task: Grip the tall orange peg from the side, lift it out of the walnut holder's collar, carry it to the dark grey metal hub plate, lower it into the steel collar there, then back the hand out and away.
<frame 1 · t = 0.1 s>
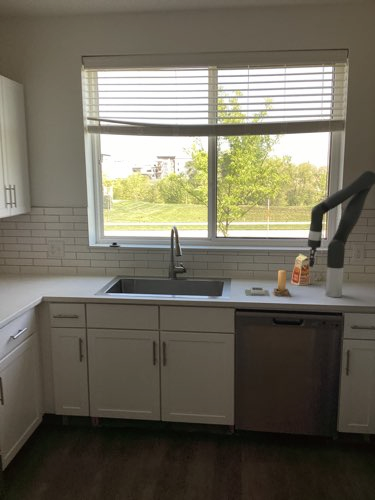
hand: (311, 265, 249), 17 cm above the countertop, tool pointing down, fingers open, 8 cm apart
peg: (281, 294, 246), point 1 cm above the countertop, touching holder
hub: (257, 294, 249), on the countertop
holder: (281, 295, 246), on the countertop
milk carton: (300, 283, 277), on the countertop
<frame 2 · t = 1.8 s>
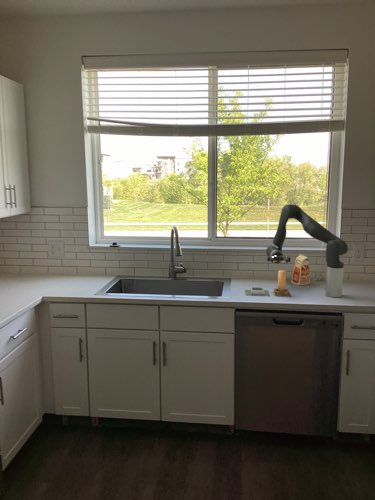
hand: (279, 261, 254), 19 cm above the countertop, tool horizontal, fingers open, 8 cm apart
nothing on the countertop moved.
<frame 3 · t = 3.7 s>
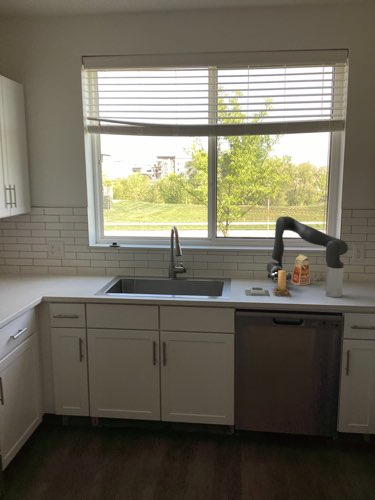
hand: (280, 278, 251), 9 cm above the countertop, tool horizontal, fingers open, 8 cm apart
nothing on the countertop moved.
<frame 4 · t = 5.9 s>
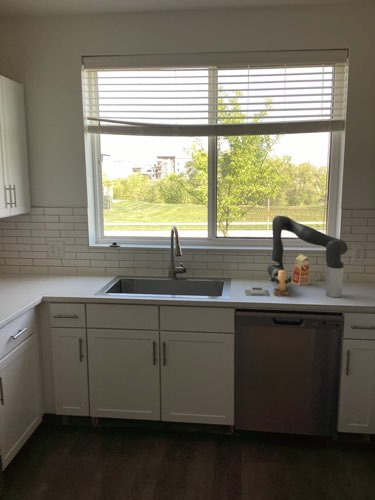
hand: (282, 282, 242), 9 cm above the countertop, tool horizontal, fingers closed on peg, 4 cm apart
peg: (281, 294, 246), point 1 cm above the countertop, touching gripper, holder
everything else where it was.
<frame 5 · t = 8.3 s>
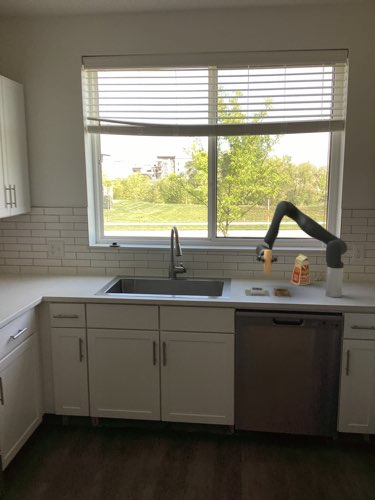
hand: (268, 261, 242), 21 cm above the countertop, tool horizontal, fingers closed on peg, 4 cm apart
peg: (267, 273, 246), point 13 cm above the countertop, touching gripper
everything else where it was.
when the fingers open (10 cm above the countertop, at t = 11.1 s): peg drops 1 cm, resting on hub.
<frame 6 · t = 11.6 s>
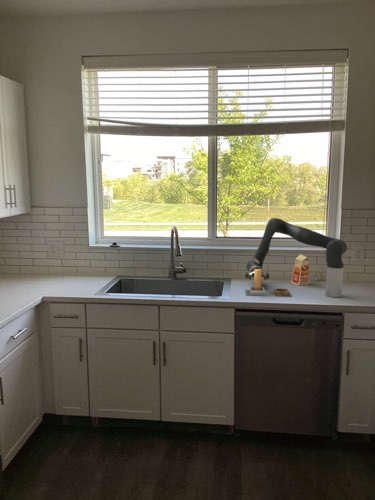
hand: (257, 278, 245), 10 cm above the countertop, tool horizontal, fingers open, 8 cm apart
peg: (257, 292, 249), point 1 cm above the countertop, touching hub
everything else where it was.
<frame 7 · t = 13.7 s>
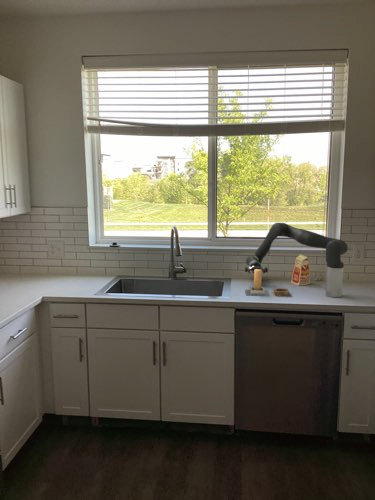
hand: (256, 271, 258), 11 cm above the countertop, tool horizontal, fingers open, 8 cm apart
nothing on the countertop moved.
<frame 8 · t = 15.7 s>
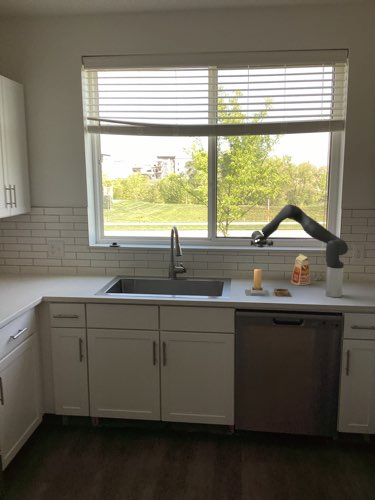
hand: (262, 244, 260), 28 cm above the countertop, tool horizontal, fingers open, 8 cm apart
nothing on the countertop moved.
at the end: peg 0.1 cm off-centre on the hub, point 1.0 cm above the hub's base; peg tilted 1°; the gripper is holding nothing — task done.
